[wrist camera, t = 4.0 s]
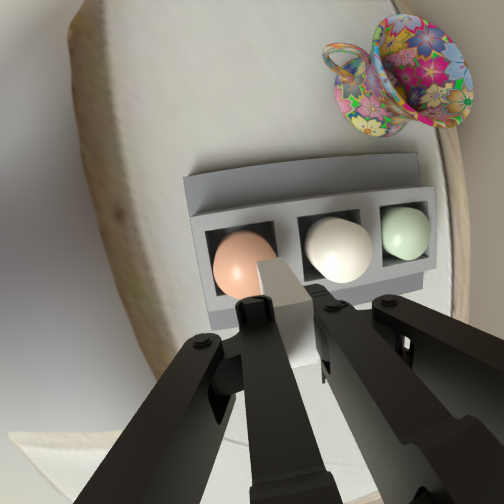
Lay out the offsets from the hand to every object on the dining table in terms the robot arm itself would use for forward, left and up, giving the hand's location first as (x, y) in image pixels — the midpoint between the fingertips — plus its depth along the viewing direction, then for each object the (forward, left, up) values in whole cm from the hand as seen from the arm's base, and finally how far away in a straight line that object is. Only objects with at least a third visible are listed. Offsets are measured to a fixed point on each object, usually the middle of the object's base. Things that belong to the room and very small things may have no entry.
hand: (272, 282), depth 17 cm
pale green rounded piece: (0, +13, -9) cm, 16 cm away
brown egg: (0, -1, -7) cm, 7 cm away
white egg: (0, +6, -7) cm, 9 cm away
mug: (-13, +12, -12) cm, 21 cm away
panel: (0, +6, -11) cm, 13 cm away
